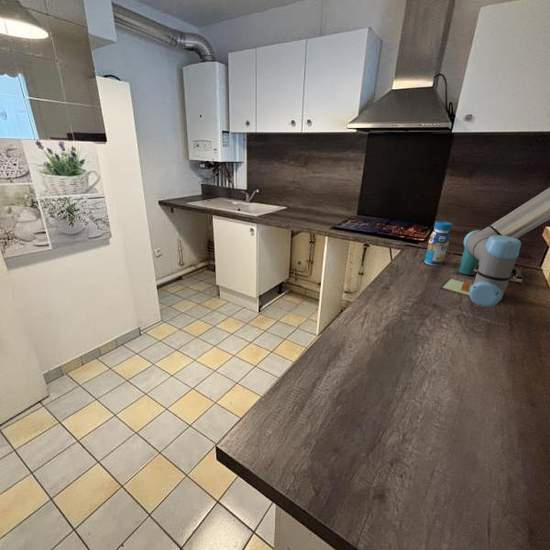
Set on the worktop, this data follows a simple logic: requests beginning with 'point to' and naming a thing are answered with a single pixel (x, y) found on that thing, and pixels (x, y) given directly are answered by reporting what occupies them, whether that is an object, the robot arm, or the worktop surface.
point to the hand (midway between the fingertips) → (504, 263)
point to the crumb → (466, 287)
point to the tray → (455, 286)
